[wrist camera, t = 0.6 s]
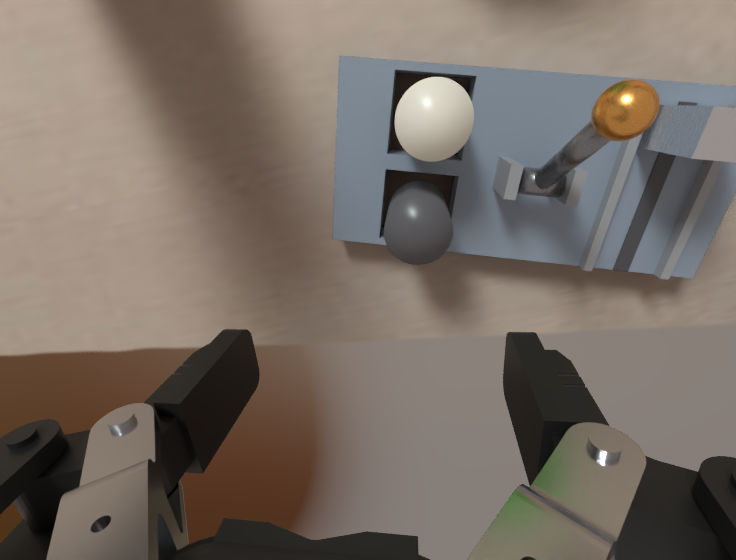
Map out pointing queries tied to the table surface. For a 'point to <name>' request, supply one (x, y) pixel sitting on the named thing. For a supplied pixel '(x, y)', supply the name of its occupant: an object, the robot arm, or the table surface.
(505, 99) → the panel
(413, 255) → the button
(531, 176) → the toggle lever
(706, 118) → the slider knob
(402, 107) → the button
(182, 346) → the table surface
